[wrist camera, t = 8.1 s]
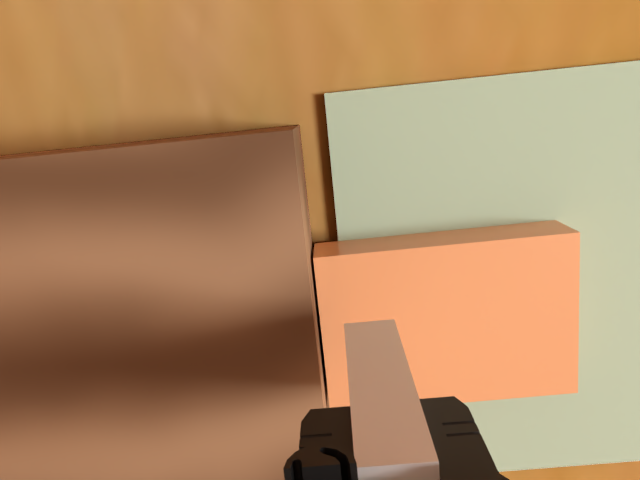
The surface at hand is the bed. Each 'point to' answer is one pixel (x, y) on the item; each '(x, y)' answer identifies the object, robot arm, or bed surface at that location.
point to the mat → (517, 221)
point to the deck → (157, 309)
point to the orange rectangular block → (460, 308)
